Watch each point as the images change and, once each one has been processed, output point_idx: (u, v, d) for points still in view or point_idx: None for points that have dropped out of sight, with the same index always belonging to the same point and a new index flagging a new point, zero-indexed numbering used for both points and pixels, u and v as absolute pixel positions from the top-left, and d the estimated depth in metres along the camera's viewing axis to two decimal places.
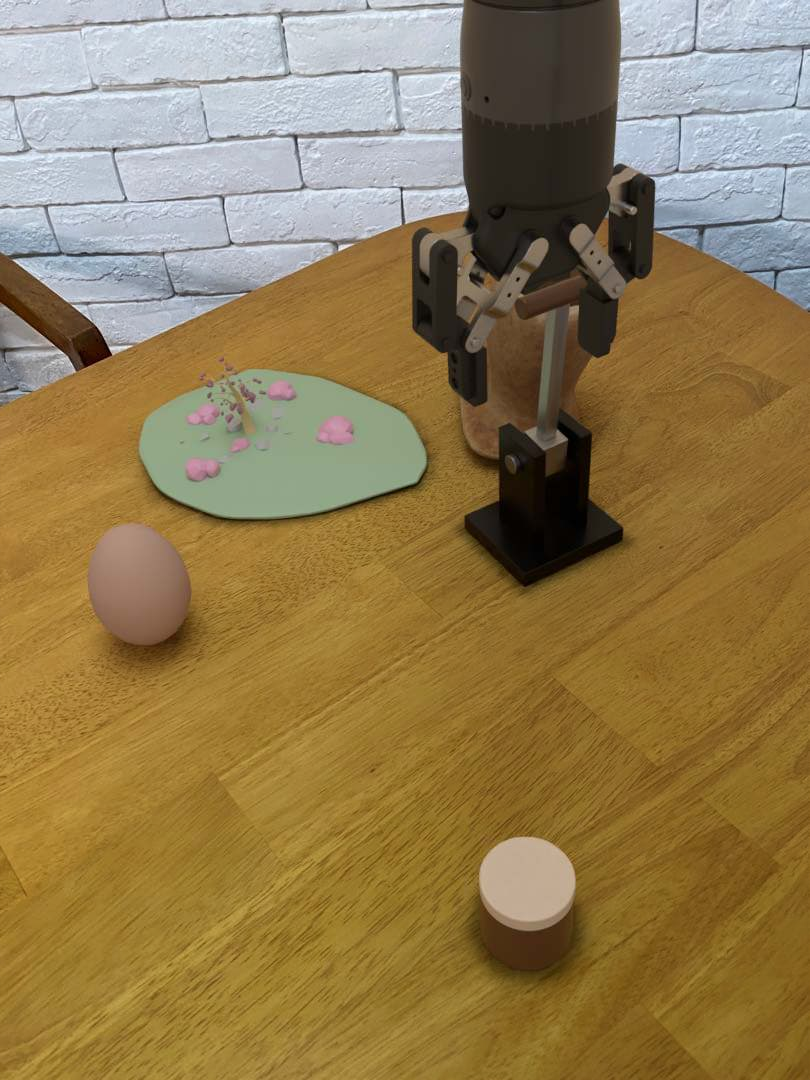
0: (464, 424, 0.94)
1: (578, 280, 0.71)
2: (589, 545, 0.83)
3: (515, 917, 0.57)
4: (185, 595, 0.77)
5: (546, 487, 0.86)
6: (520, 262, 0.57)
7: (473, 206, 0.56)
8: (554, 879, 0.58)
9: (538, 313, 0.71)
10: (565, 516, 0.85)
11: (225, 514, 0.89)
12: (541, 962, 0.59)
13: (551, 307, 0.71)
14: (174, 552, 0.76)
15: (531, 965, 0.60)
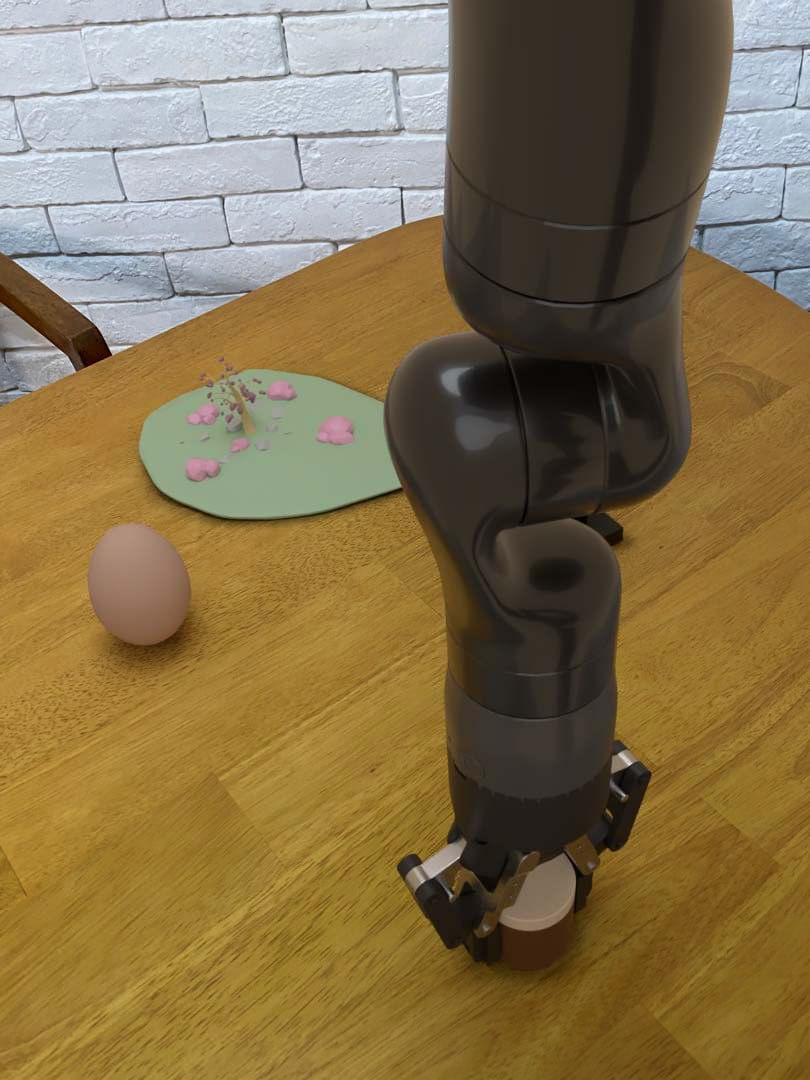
0: None
1: None
2: None
3: (515, 917, 0.57)
4: (185, 595, 0.77)
5: None
6: None
7: None
8: (554, 879, 0.58)
9: None
10: None
11: (225, 514, 0.89)
12: (541, 962, 0.59)
13: None
14: (174, 552, 0.76)
15: (531, 965, 0.60)
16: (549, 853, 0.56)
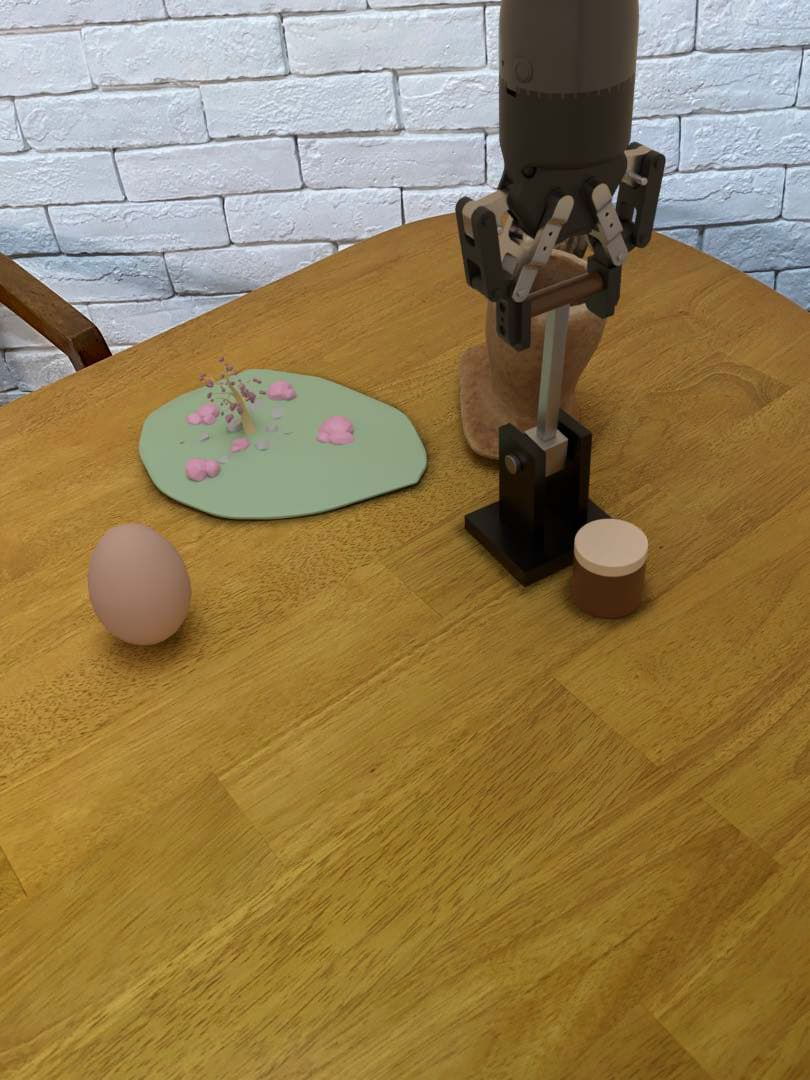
0: (464, 424, 0.94)
1: (578, 280, 0.71)
2: None
3: (604, 564, 0.76)
4: (185, 595, 0.77)
5: (546, 487, 0.86)
6: None
7: None
8: (632, 542, 0.77)
9: (538, 313, 0.71)
10: (565, 516, 0.85)
11: (225, 514, 0.89)
12: (621, 610, 0.79)
13: (551, 307, 0.71)
14: (174, 552, 0.76)
15: (613, 613, 0.79)
16: (580, 223, 0.68)
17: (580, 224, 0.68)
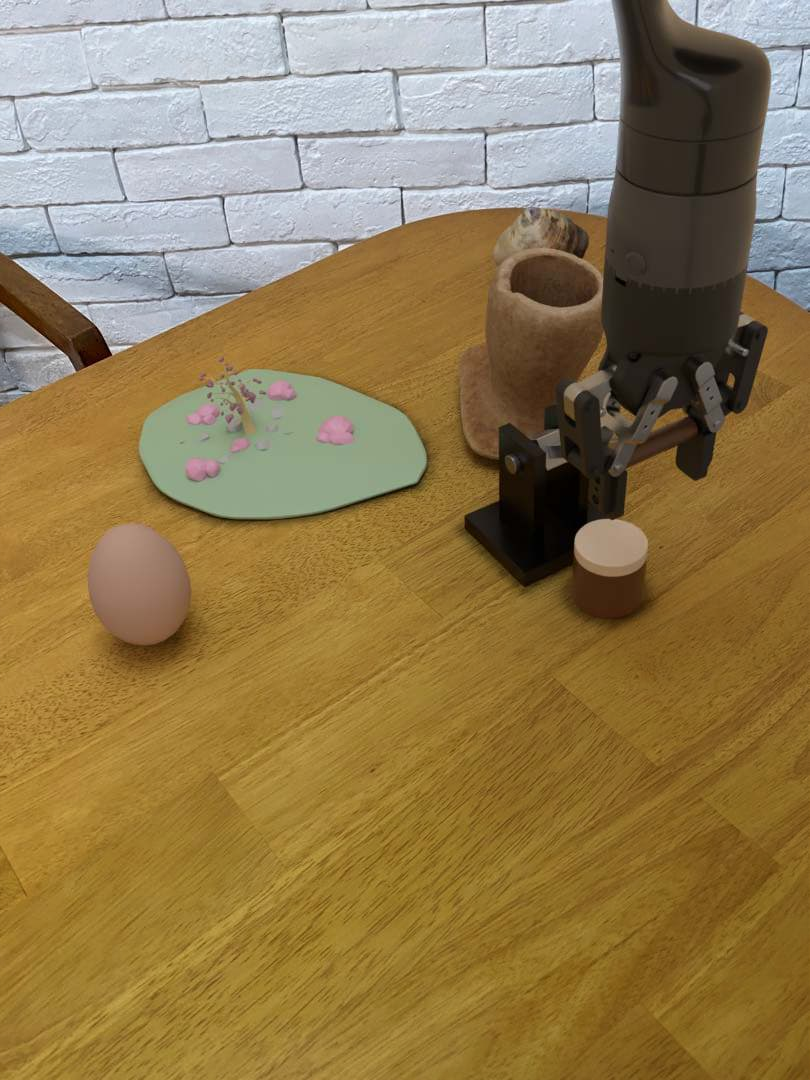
0: (464, 424, 0.94)
1: (677, 438, 0.69)
2: None
3: (604, 564, 0.76)
4: (185, 595, 0.77)
5: (546, 487, 0.86)
6: None
7: None
8: (632, 542, 0.77)
9: None
10: (565, 516, 0.85)
11: (225, 514, 0.89)
12: (621, 610, 0.79)
13: None
14: (174, 552, 0.76)
15: (613, 613, 0.79)
16: (680, 397, 0.66)
17: (680, 398, 0.66)
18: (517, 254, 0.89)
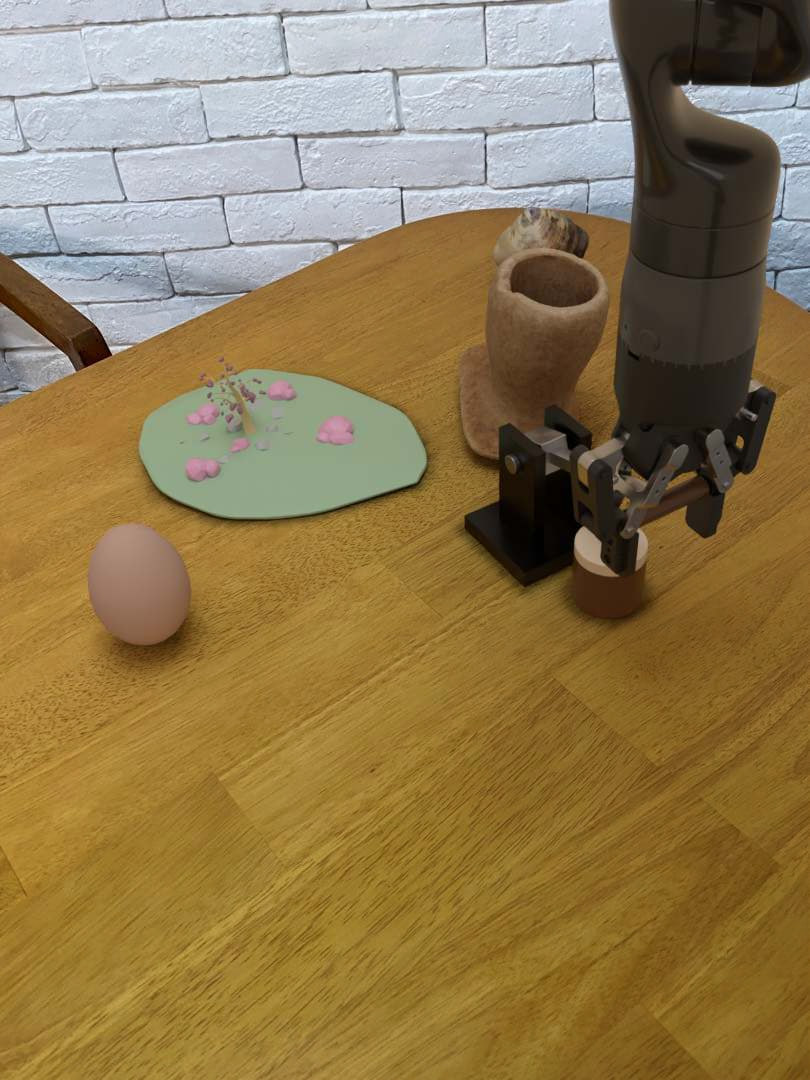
0: (464, 424, 0.94)
1: (689, 500, 0.70)
2: None
3: (604, 564, 0.76)
4: (185, 595, 0.77)
5: (546, 487, 0.86)
6: None
7: None
8: None
9: None
10: (565, 516, 0.85)
11: (225, 514, 0.89)
12: (621, 610, 0.79)
13: None
14: (174, 552, 0.76)
15: (613, 613, 0.79)
16: (691, 462, 0.67)
17: (691, 463, 0.67)
18: (517, 254, 0.89)
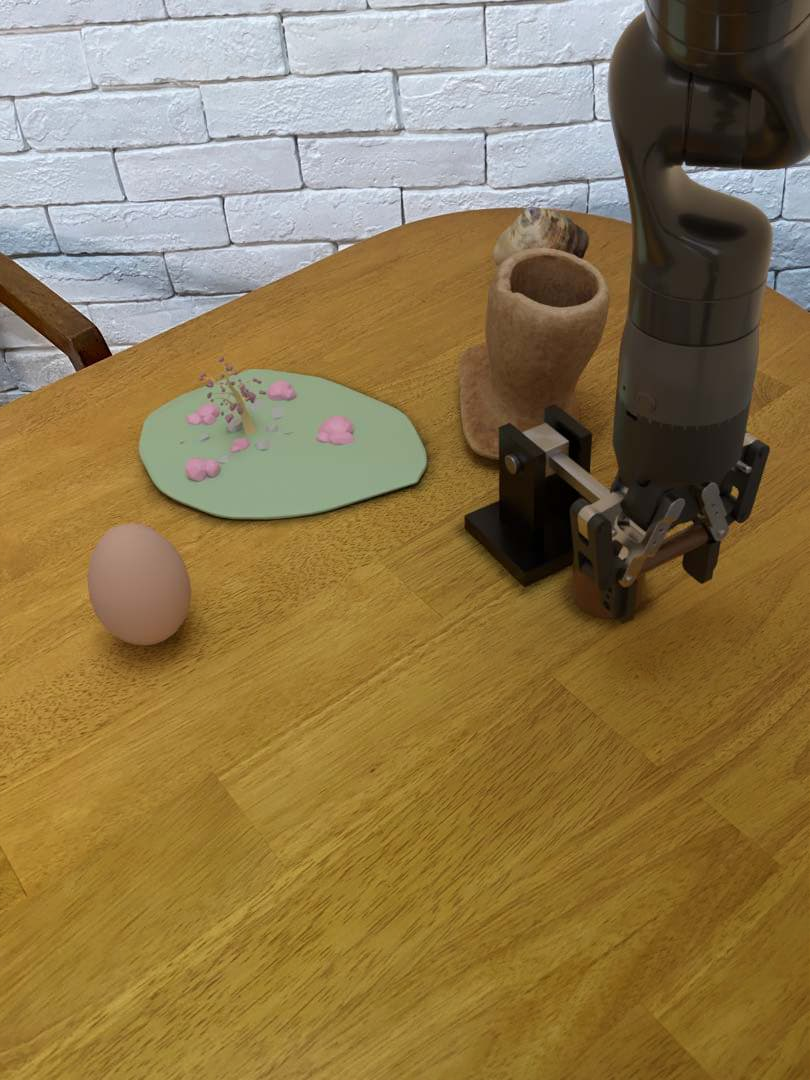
0: (464, 424, 0.94)
1: (688, 550, 0.72)
2: None
3: None
4: (185, 595, 0.77)
5: (546, 487, 0.86)
6: None
7: None
8: None
9: None
10: (565, 516, 0.85)
11: (225, 514, 0.89)
12: None
13: None
14: (174, 552, 0.76)
15: None
16: (687, 513, 0.69)
17: (687, 514, 0.70)
18: (517, 254, 0.89)
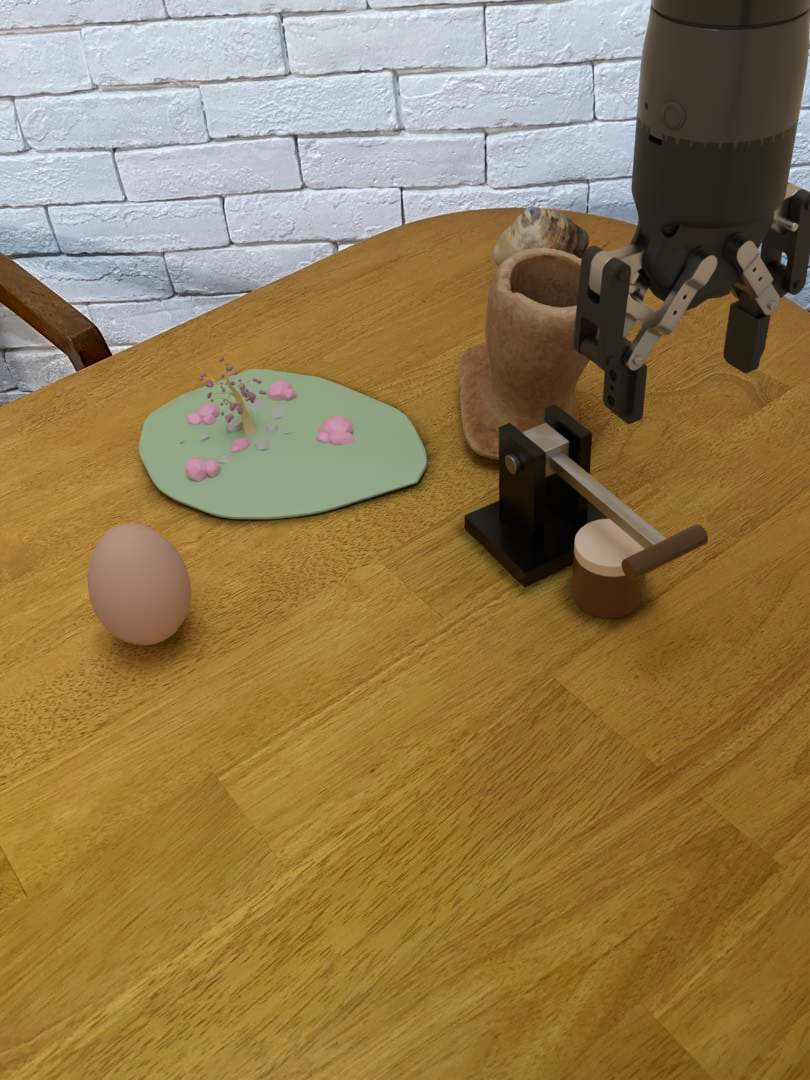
0: (464, 424, 0.94)
1: (687, 551, 0.72)
2: None
3: (604, 564, 0.76)
4: (185, 595, 0.77)
5: (546, 487, 0.86)
6: None
7: None
8: (632, 542, 0.77)
9: None
10: (565, 516, 0.85)
11: (225, 514, 0.89)
12: (621, 610, 0.79)
13: None
14: (174, 552, 0.76)
15: (613, 613, 0.79)
16: (719, 284, 0.59)
17: (719, 285, 0.59)
18: (517, 254, 0.89)
